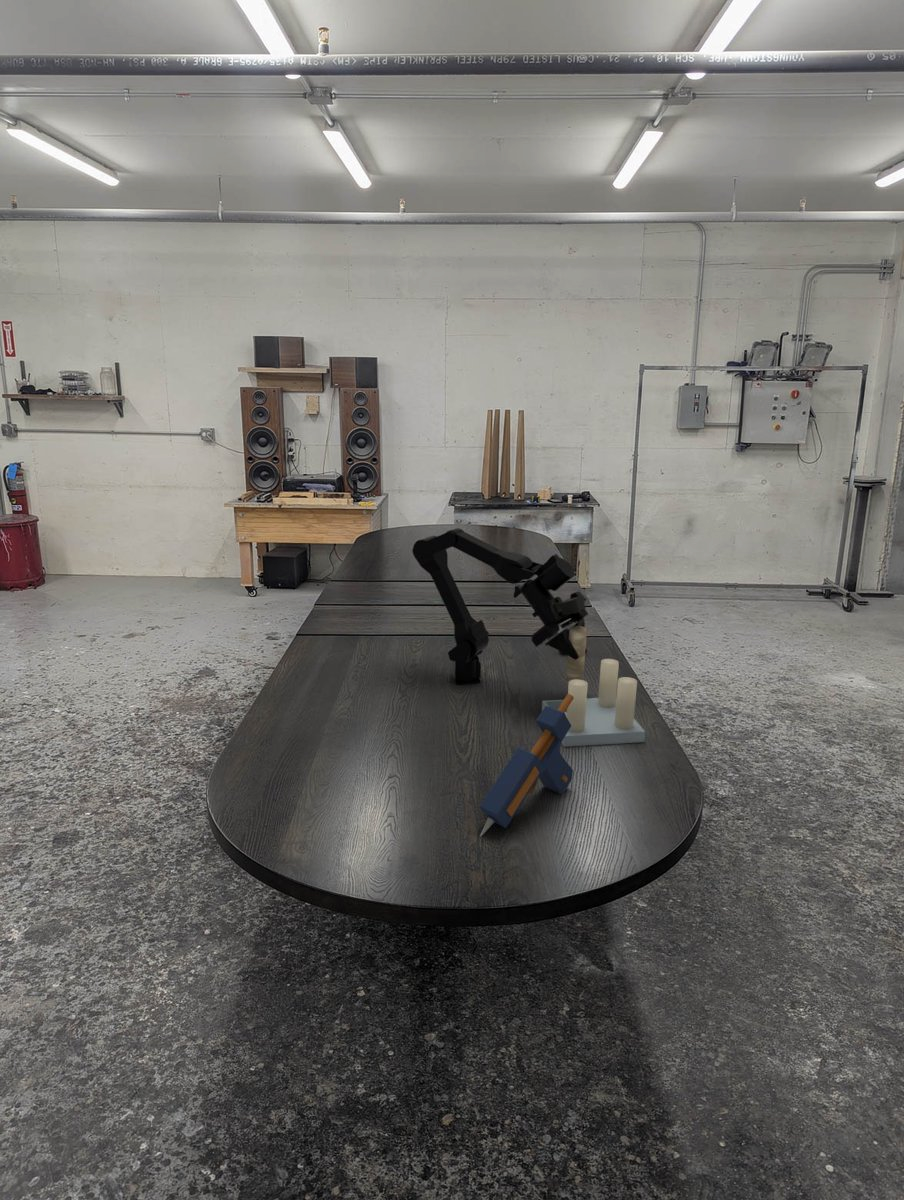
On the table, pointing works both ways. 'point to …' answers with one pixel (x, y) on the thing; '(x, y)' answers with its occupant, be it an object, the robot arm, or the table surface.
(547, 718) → the glue gun
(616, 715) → the stool seat
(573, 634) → the loose leg
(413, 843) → the table surface
